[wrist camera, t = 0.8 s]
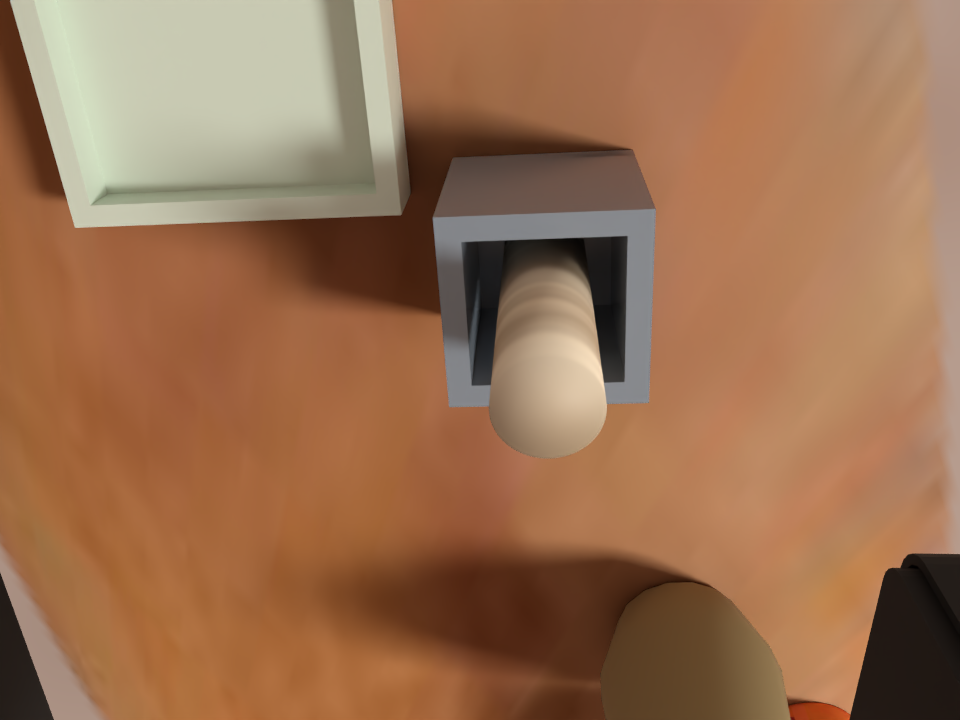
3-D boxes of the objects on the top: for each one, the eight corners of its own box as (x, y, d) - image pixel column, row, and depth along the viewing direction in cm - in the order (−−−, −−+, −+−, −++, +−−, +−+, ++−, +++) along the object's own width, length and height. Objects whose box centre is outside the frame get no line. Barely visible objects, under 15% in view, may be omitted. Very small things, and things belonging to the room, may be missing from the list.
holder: (452, 157, 32) (432, 217, 26) (632, 149, 32) (655, 208, 25) (464, 318, 35) (449, 407, 29) (628, 314, 35) (648, 402, 29)
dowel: (502, 208, 32) (485, 359, 22) (584, 205, 32) (607, 355, 21) (506, 283, 34) (492, 459, 23) (584, 281, 33) (606, 457, 23)
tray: (-8, -223, 27) (-58, -235, 25) (366, -254, 26) (350, -269, 24) (106, 205, 34) (75, 227, 32) (410, 193, 33) (401, 215, 31)
